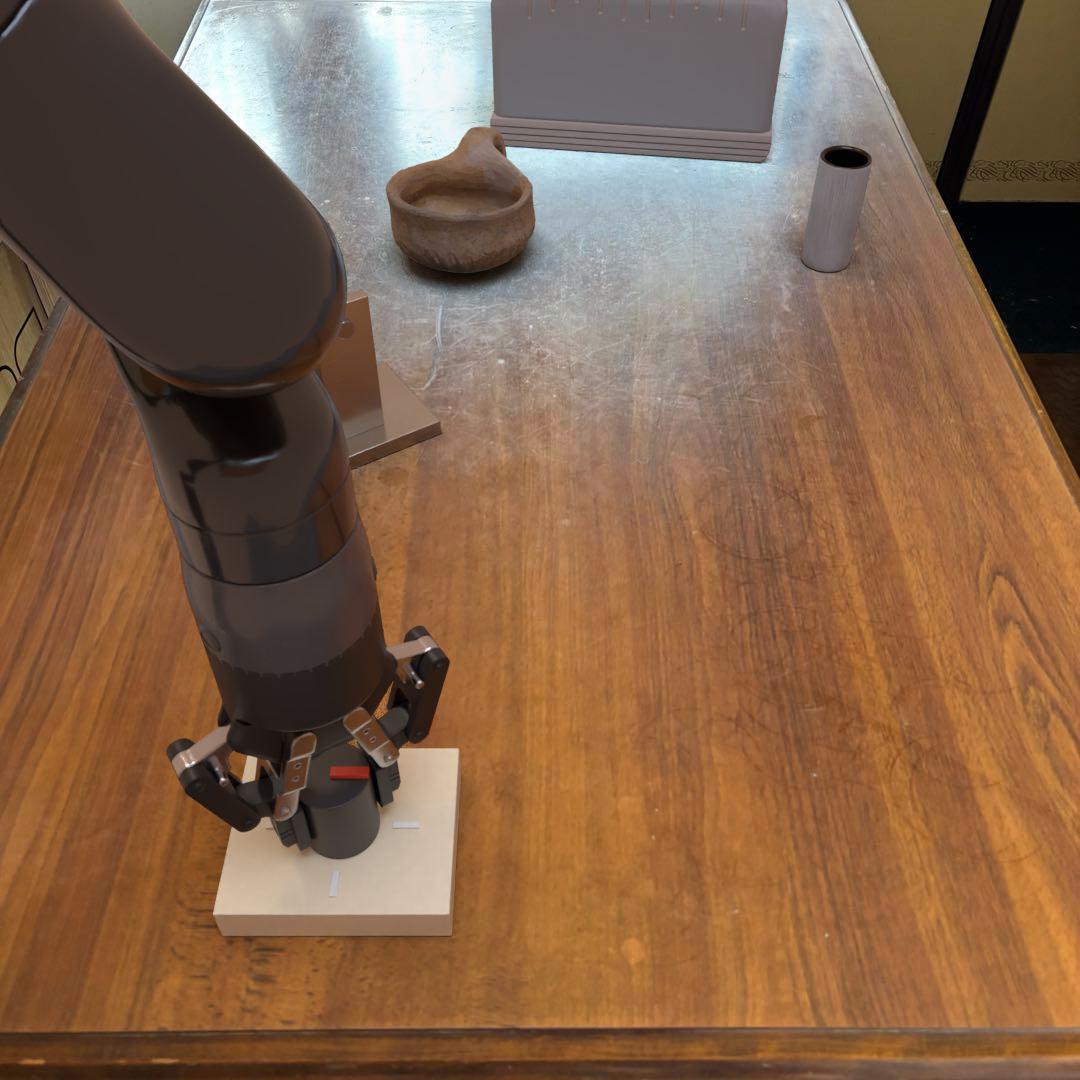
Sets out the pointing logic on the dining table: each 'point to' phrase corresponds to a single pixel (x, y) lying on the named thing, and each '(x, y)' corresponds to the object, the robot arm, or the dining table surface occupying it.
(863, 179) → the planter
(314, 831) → the dial
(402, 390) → the bracket
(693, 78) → the toaster
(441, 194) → the bowl
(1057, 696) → the dining table surface
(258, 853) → the dial panel
